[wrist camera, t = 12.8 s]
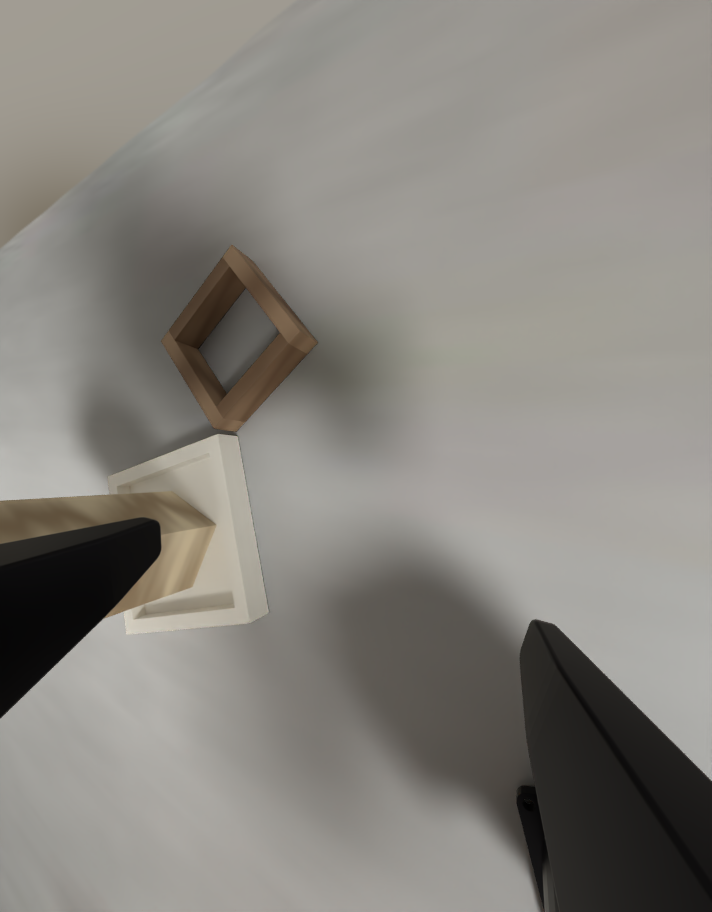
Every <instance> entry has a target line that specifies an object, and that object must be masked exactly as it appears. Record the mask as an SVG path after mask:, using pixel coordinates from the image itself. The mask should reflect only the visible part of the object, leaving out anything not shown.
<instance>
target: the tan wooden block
mask: <svg viewBox="0 0 712 912" xmlns="http://www.w3.org/2000/svg"><path fill="white" fill-rule="evenodd" d="M139 517H147V518H150V519H154V520H157V521H158V522H159V523H160V526H161V544H162V550H161V553H160V555H159V557H158V559H157V560H156V561H155V562H154V563H153V564H152V566H151V567H150V568H149V569H148V570H147V571H146V572H145V574H144V575H143V576H142V577H141V578H140V579H139V580H138V582H137V583H136V584H135V585H134V586H133V587H132V588H131V590H130V591H129V592H128V593H127V594H126V595H125V596H124V598H123V599H122V600H121V601H120V602H119V603H118V604H117V605H116V606H115V607H114V609H113V610H112V611H111V612H110V613H109V614H108V615H107V616H106V617H105V618H107V617H109V616H112V615H115V614H118V613H121V612H124V611H126V610H129V609H132V608H135V607H138V606H141V605H143V604H146V603H149V602H152V601H155V600H157V599H160V598H163V597H166V596H169V595H172V594H174V593H177V592H180V591H183V590H186V589H189V588H191V587H193V584H194V582H195V579H196V577H197V574H198V572H199V569H200V567H201V564H202V561H203V559H204V556H205V554H206V551H207V549H208V546H209V543H210V541H211V538H212V536H213V533H214V531H215V528H216V526H217V525H216V524H215V523H214V522H212V521H211V520H210V519H208V518H207V517H206V516H204V515H203V514H202V513H200V512H199V511H198V510H196V509H195V508H194V507H192V506H191V505H190V504H189V503H187V502H186V501H185V500H183V499H182V498H181V497H179V496H178V495H177V494H175V493H174V492H173V491H165V492H147V493H130V494H112V495H95V496H77V497H60V498H42V499H25V500H7V501H0V544H2V543H7V542H13V541H18V540H23V539H28V538H34V537H39V536H44V535H49V534H55V533H60V532H65V531H70V530H76V529H81V528H86V527H91V526H97V525H102V524H107V523H112V522H118V521H123V520H128V519H133V518H139ZM103 619H104V618H103Z"/></svg>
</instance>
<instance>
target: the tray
mask: <svg viewBox="0 0 712 912" xmlns="http://www.w3.org/2000/svg"><path fill="white" fill-rule="evenodd" d="M108 486H109V494H110V495H112V494H130V493H147V492H165V491H173V492H174V493H175V494H177V495H178V496H179V497H181V498H182V499H183V500H185V501H186V502H187V503H189V504H190V505H191V506H192V507H194V508H195V509H196V510H198V511H199V512H200V513H202V514H203V515H204V516H206V517H207V518H208V519H210V520H211V521H212V522H214V523H215V524H216V525H217V526H216V528H215V531H214V533H213V536H212V538H211V541H210V543H209V546H208V549H207V551H206V554H205V556H204V559H203V561H202V564H201V567H200V569H199V572H198V574H197V577H196V579H195V582H194V584H193V587H191V588H189V589H186V590H183V591H180V592H177V593H174V594H172V595H169V596H166V597H163V598H160V599H157V600H155V601H152V602H149V603H146V604H143V605H141V606H138V607H135V608H132V609H129V610H126V611H124V618H125V627H126V635H128V634H139V633H150V632H161V631H172V630H183V629H194V628H205V627H216V626H227V625H238V624H249V623H252V622H253V621H255V620H257V619H259V618H260V617H262V616H264V615H266V614H268V613H269V610H268V604H267V598H266V593H265V587H264V581H263V576H262V570H261V565H260V559H259V553H258V548H257V542H256V536H255V531H254V525H253V519H252V514H251V508H250V503H249V497H248V491H247V486H246V480H245V474H244V469H243V463H242V457H241V452H240V446H239V441H238V436H231V435H223V434H216V435H214V436H211V437H208V438H206V439H203V440H201V441H198V442H196V443H193V444H190V445H188V446H185V447H183V448H180V449H178V450H175V451H172V452H170V453H167V454H165V455H162V456H160V457H157V458H154V459H152V460H149V461H147V462H144V463H142V464H139V465H136V466H134V467H131V468H129V469H126V470H124V471H121V472H118V473H116V474H113V475H111V476H108Z"/></svg>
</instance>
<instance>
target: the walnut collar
mask: <svg viewBox="0 0 712 912" xmlns="http://www.w3.org/2000/svg"><path fill="white" fill-rule="evenodd" d="M245 288H247V290H248V291H249V292H250V294H251V295H252V296H253V297H254V299H255V300H256V301H257V303H258V304H259V305H260V307H261V308H262V309H263V311H264V312H265V313H266V315H267V316H268V317H269V318H270V320H271V321H272V322H273V324H274V325H275V326H276V328H277V329H278V330H279V332H280V333H279V334H278V336H277V337H276V338H275V339H274V340H273V341H272V343H271V344H270V345H269V346H268V347H267V348H266V349H265V351H264V352H263V353H262V354H261V355H260V356H259V358H258V359H257V360H256V361H255V362H254V363H253V365H252V366H251V367H250V368H249V369H248V370H247V372H246V373H245V374H244V375H243V376H242V377H241V379H240V380H239V381H238V382H237V383H236V384H235V385H234V387H233V388H232V389H231V390H230V391H229V392H228V394H227V393H226V392H225V390H224V389H223V387H222V386H221V384H220V383H219V381H218V380H217V378H216V376H215V375H214V373H213V372H212V370H211V369H210V367H209V366H208V364H207V362H206V361H205V359H204V358H203V356H202V355H201V353H200V352H199V350H198V348H199V347H200V346H201V344H202V343H203V342H204V340H205V339H206V338H207V337H208V335H209V334H210V333H211V331H212V330H213V329H214V328H215V326H216V325H217V324H218V323H219V321H220V320H221V319H222V317H223V316H224V315H225V314H226V312H227V311H228V310H229V308H230V307H231V306H232V305H233V303H234V302H235V301H236V300H237V298H238V297H239V296H240V294H241V293H242V292H243V291H244V289H245ZM161 342H162V344H163V345H164V347H165V349H166V350H167V352H168V354H169V355H170V357H171V359H172V360H173V362H174V363H175V365H176V367H177V368H178V370H179V372H180V373H181V375H182V377H183V378H184V380H185V382H186V383H187V385H188V387H189V388H190V390H191V392H192V393H193V395H194V397H195V398H196V400H197V401H198V403H199V405H200V406H201V408H202V410H203V411H204V413H205V415H206V416H207V418H208V420H209V421H210V423H211V425H212V426H213V428H214V429H220V430H228V431H235V432H236V431H237V430H238V429H239V428H240V427H241V426H242V425H243V424H244V423H245V422H246V421H247V419H248V418H249V417H250V416H251V415H252V414H253V413H254V412H255V411H256V410H257V409H258V407H259V406H260V405H261V404H262V403H263V402H264V401H265V400H266V399H267V398H268V396H269V395H270V394H271V393H272V392H273V391H274V390H275V389H276V388H277V387H278V386H279V384H280V383H281V382H282V381H283V380H284V379H285V378H286V377H287V376H288V375H289V374H290V372H291V371H292V370H293V369H294V368H295V367H296V366H297V365H298V364H299V363H300V361H301V360H302V359H303V358H304V357H305V356H306V355H307V354H308V353H309V352H310V351H311V349H312V348H313V347H314V346H315V345H316V344H317V343H318V342H317V341H316V339H315V338H314V337H313V336H312V334H311V333H310V332H309V331H308V329H307V328H306V327H305V326H304V324H303V323H302V322H301V321H300V319H299V318H298V317H297V316H296V314H295V313H294V312H293V311H292V309H291V308H290V307H289V306H288V304H287V303H286V302H285V301H284V299H283V298H282V297H281V296H280V294H279V293H278V292H277V291H276V289H275V288H274V287H273V286H272V284H271V283H270V282H269V281H268V279H267V278H266V277H265V276H264V274H263V273H262V272H261V271H260V269H259V268H258V267H257V266H256V265H255V263H254V262H253V261H252V260H251V259H249V258H248V257H247V256H246V255H244V254H243V253H242V252H241V251H239V250H238V249H237V248H235V247H234V246H233V245H231V246H230V247H229V249H228V250H227V252H226V253H225V254H224V256H223V257H222V258H221V260H220V261H219V263H218V264H217V265H216V267H215V268H214V269H213V271H212V272H211V273H210V275H209V276H208V278H207V279H206V280H205V282H204V283H203V284H202V286H201V287H200V288H199V290H198V291H197V293H196V294H195V295H194V297H193V298H192V299H191V301H190V302H189V303H188V305H187V306H186V308H185V309H184V310H183V312H182V313H181V314H180V316H179V317H178V319H177V320H176V321H175V323H174V324H173V325H172V327H171V328H170V329H169V331H168V332H167V334H166V335H165V336H164V338H163V339H162V340H161Z"/></svg>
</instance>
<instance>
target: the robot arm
mask: <svg viewBox="0 0 712 912" xmlns="http://www.w3.org/2000/svg"><path fill="white" fill-rule="evenodd" d="M161 550H162V544H161V526H160V523H159V522H158V521H157V520H154V519H150V518H147V517H139V518H133V519H128V520H123V521H118V522H112V523H107V524H102V525H97V526H91V527H86V528H81V529H76V530H70V531H65V532H60V533H55V534H49V535H44V536H39V537H34V538H28V539H23V540H18V541H13V542H7V543H2V544H0V718H1V717H2V716H4V715H5V714H6V713H7V712H8V711H9V710H10V709H11V708H12V707H13V706H14V705H15V704H16V703H17V702H18V701H19V700H20V699H21V698H22V697H23V696H24V695H25V694H26V693H27V692H28V691H29V690H30V689H31V688H32V687H33V686H34V685H35V684H37V683H38V682H39V681H40V680H41V679H42V678H43V677H44V676H45V675H46V674H47V673H48V672H49V671H50V670H51V669H52V668H53V667H54V666H55V665H56V664H57V663H58V662H59V661H60V660H61V659H62V658H63V657H64V656H65V655H66V654H67V653H68V652H69V651H71V650H72V649H73V648H74V647H75V646H76V645H77V644H78V643H79V642H80V641H81V640H82V639H83V638H84V637H85V636H86V635H87V634H88V633H89V632H90V631H91V630H92V629H93V628H94V627H95V626H96V625H97V624H98V623H99V622H100V621H101V620H102V619H103V618H105V617H106V616H107V615H108V614H109V613H110V612H111V611H112V610H113V609H114V607H115V606H116V605H117V604H118V603H119V602H120V601H121V600H122V599H123V598H124V596H125V595H126V594H127V593H128V592H129V591H130V590H131V588H132V587H133V586H134V585H135V584H136V583H137V582H138V580H139V579H140V578H141V577H142V576H143V575H144V574H145V572H146V571H147V570H148V569H149V568H150V567H151V566H152V564H153V563H154V562H155V561H156V560H157V559H158V557H159V555H160V553H161ZM520 671H521V683H522V694H523V705H524V717H525V728H526V737H527V745H528V751H529V757H530V762H531V767H532V772H533V778H534V783H535V787H532V786H521V787H519V788H518V790H517V806H518V810H519V814H520V818H521V822H522V826H523V830H524V834H525V838H526V842H527V845H528V849H529V853H530V857H531V861H532V865H533V869H534V873H535V877H536V881H537V885H538V888H539V892H540V896H541V900H542V904H543V908H544V912H712V781H711V780H710V779H709V778H708V777H707V776H706V775H705V774H704V773H703V772H702V771H701V770H700V769H699V768H698V767H697V766H696V765H695V764H694V763H693V762H692V761H691V760H690V759H689V758H688V757H687V756H686V755H685V754H684V753H683V752H682V751H681V750H680V749H679V748H678V747H677V746H676V745H675V744H674V743H673V742H672V741H671V740H670V739H669V738H668V737H667V736H666V735H665V734H664V733H663V732H662V731H661V730H660V729H659V728H658V727H657V726H656V725H655V724H654V723H653V722H652V721H651V720H650V719H649V718H648V717H647V716H646V715H645V714H644V713H643V712H642V711H641V710H640V709H639V708H638V707H637V706H636V705H635V704H634V703H633V702H632V701H631V700H630V699H629V698H628V697H627V696H626V695H625V694H624V693H623V692H622V691H621V690H620V689H619V688H618V687H617V686H616V685H615V684H614V683H613V682H612V681H611V680H610V679H609V678H608V677H607V676H606V675H605V674H604V673H603V672H602V671H601V670H600V669H599V668H598V667H597V666H596V665H595V664H594V663H593V662H592V661H591V660H590V659H589V658H588V657H587V656H586V655H585V654H584V653H583V652H582V651H581V650H580V649H579V648H578V647H577V646H576V645H575V644H574V643H573V642H572V641H571V640H570V639H569V638H568V637H567V636H566V635H565V634H564V633H563V632H562V631H561V630H560V629H559V628H558V627H557V626H555V625H554V624H552V623H548V622H544V621H540V620H536V619H534V620H532V621H531V623H530V624H529V627H528V630H527V633H526V636H525V638H524V641H523V644H522V647H521V651H520ZM524 799H529V800H531V801H532V802H533V804H529V803H527V802H525V801H524Z"/></svg>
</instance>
